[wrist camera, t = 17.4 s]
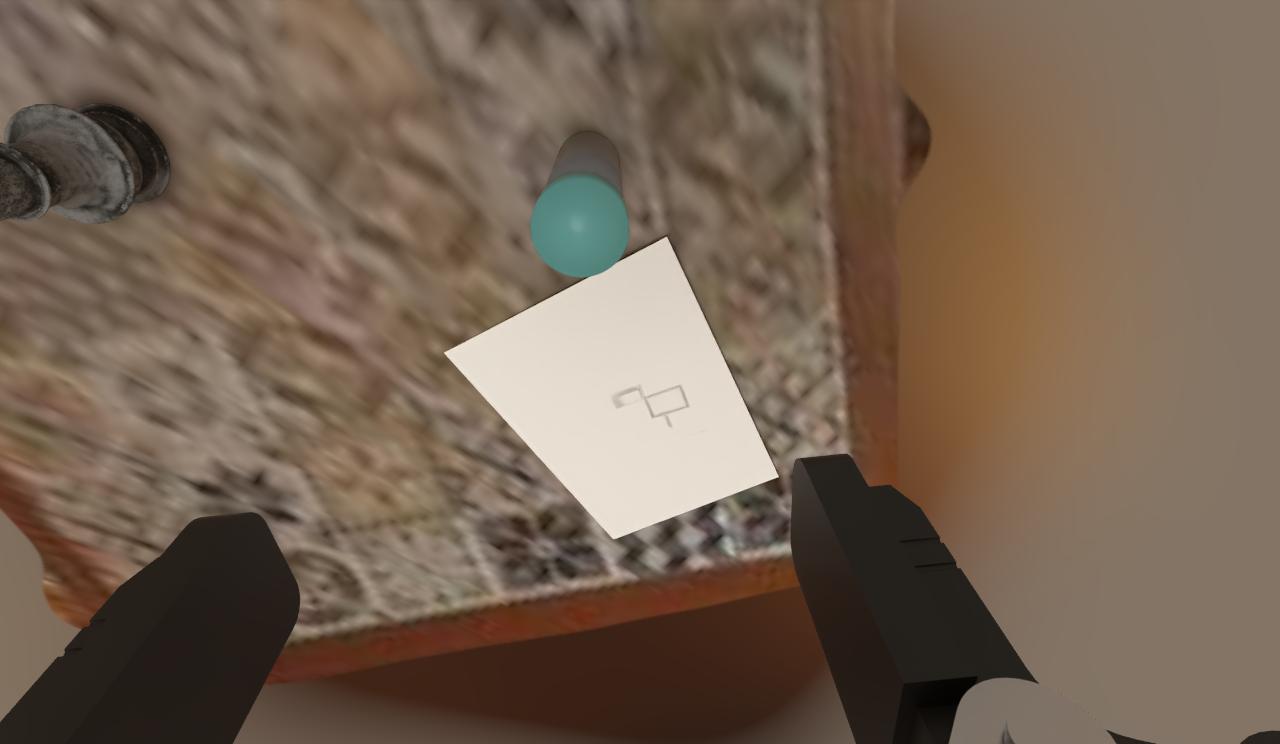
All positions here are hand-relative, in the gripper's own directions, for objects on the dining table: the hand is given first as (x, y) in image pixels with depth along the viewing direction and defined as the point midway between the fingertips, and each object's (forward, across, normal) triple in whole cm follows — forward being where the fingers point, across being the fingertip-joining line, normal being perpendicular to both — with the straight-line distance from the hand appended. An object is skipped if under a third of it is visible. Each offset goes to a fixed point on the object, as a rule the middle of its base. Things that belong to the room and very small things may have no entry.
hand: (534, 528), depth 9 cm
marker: (+30, 0, 0) cm, 30 cm away
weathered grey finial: (+30, +26, -3) cm, 40 cm away
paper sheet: (+31, +5, +20) cm, 37 cm away
